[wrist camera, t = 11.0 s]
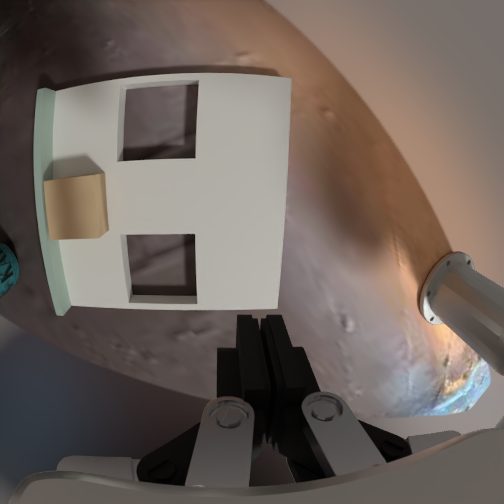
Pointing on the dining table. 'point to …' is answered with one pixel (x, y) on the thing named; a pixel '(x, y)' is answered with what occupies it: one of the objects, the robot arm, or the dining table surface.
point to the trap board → (171, 191)
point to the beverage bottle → (7, 269)
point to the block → (76, 207)
